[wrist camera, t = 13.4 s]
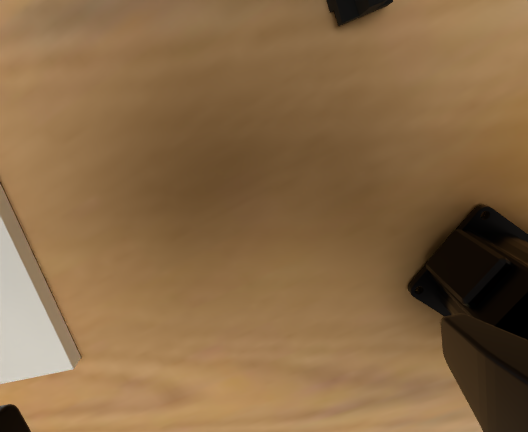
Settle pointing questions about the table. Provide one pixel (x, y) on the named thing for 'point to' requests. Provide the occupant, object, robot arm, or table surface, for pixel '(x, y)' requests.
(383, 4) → the security camera
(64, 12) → the table surface
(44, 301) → the plate
